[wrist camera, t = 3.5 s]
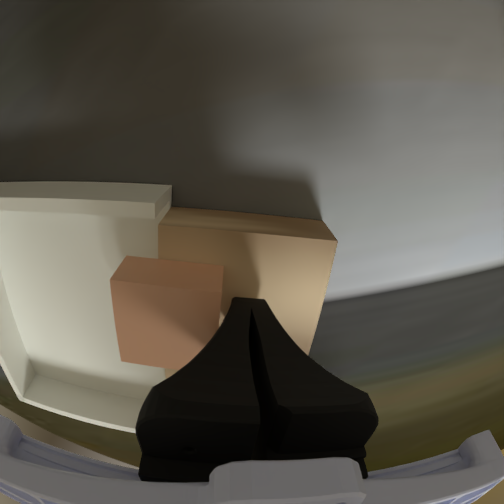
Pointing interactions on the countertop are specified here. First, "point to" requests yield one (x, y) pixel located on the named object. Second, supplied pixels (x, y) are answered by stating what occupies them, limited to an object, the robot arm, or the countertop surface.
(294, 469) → the robot arm
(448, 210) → the countertop surface
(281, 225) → the oak board
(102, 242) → the tray
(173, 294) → the terracotta tile
